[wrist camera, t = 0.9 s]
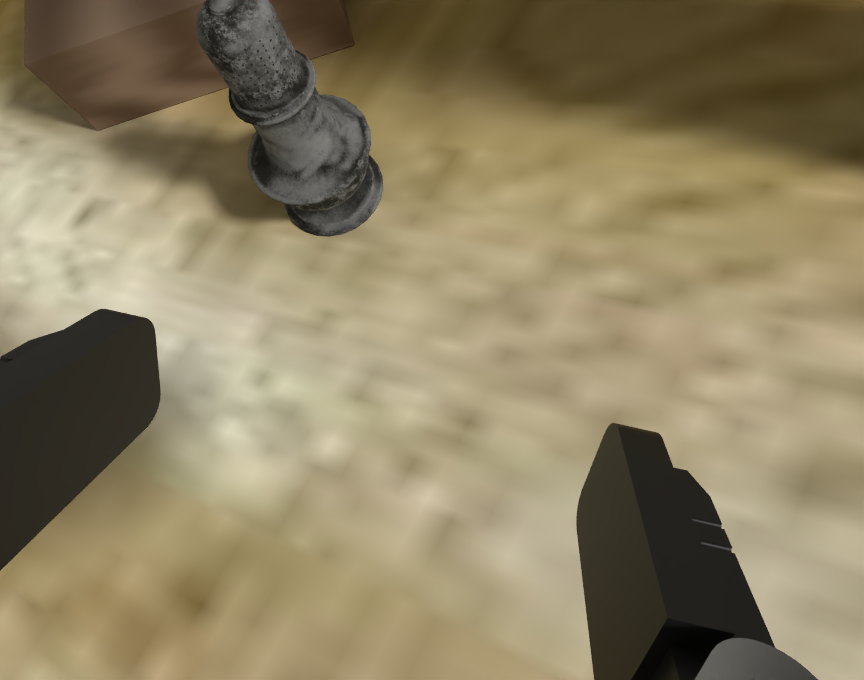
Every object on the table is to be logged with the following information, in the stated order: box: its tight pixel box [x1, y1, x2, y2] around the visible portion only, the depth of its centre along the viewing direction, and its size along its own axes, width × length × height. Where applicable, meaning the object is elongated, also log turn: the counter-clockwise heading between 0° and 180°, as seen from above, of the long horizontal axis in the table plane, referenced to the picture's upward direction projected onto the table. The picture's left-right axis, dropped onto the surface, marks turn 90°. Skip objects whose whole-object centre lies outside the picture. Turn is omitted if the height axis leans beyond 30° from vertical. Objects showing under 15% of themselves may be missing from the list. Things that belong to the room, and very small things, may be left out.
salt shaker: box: [196, 0, 383, 236], centre depth 23 cm, size 6×6×12 cm
